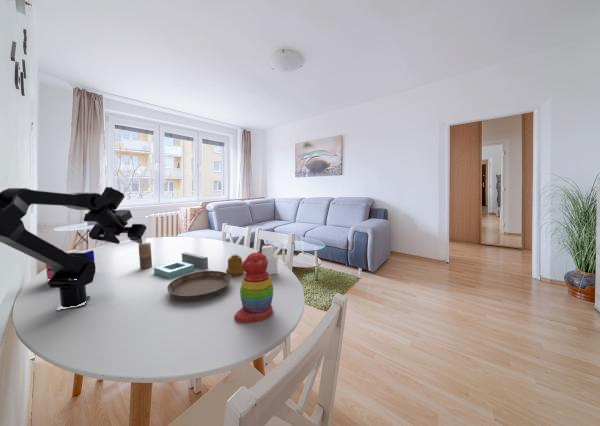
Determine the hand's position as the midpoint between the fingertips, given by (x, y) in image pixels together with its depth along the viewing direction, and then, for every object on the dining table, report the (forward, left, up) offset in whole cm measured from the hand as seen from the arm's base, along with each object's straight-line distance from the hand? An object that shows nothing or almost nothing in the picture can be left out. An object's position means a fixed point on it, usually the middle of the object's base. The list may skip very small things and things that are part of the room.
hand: (130, 243), depth 94 cm
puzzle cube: (+8, +20, -14) cm, 26 cm away
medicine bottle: (-28, -49, -14) cm, 58 cm away
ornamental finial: (-22, -37, -14) cm, 45 cm away
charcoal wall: (-2, -24, -13) cm, 27 cm away
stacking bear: (-56, -33, -14) cm, 66 cm away
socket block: (-6, -15, -13) cm, 21 cm away
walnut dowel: (+7, -5, -13) cm, 16 cm away
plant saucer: (-31, -22, -14) cm, 40 cm away
